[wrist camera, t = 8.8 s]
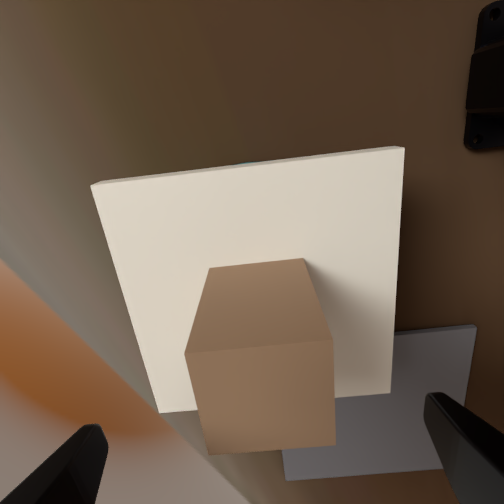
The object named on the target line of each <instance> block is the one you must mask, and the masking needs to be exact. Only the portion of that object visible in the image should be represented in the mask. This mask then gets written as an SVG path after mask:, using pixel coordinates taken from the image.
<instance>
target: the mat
mask: <svg viewBox="0 0 504 504" xmlns="http://www.w3.org/2000/svg"><path fill="white" fill-rule="evenodd" d="M476 331H477V327H476V326H475V325H474V324H471V325H461V326H450V327H440V328H430V329H420V330H410V331H399V332H394V338H393V356H392V373H391V390H390V393H385V394H374V395H362V396H351V397H339V398H335V426H336V445H332V446H320V447H308V448H295V449H283V450H282V455H283V463H284V472H285V480H286V481H292V480H304V479H317V478H330V477H343V476H355V475H368V474H381V473H394V472H406V471H419V470H432V469H444V468H443V466H442V464H441V461H440V459H439V457H438V454H437V452H436V449H435V447H434V445H433V442H432V440H431V437H430V435H429V433H428V430H427V428H426V426H425V423H424V419H423V412H424V402H425V395H426V394H427V393H432V392H443V393H445V394H447V395H448V396H449V397H451V398H452V399H454V400H455V401H457V402H458V403H459V404H461V405H462V406H464V402H465V396H466V390H467V384H468V378H469V373H470V367H471V361H472V355H473V349H474V343H475V337H476Z"/></svg>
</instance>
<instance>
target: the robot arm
mask: <svg viewBox="0 0 504 504" xmlns="http://www.w3.org/2000/svg"><path fill="white" fill-rule="evenodd" d="M491 10H492V11H493V12H494V13H495V17H494V19H493V21H492V20H491V19H490V17H489V14H490V11H491ZM466 110H467V117H466V126H465V134H464V144H465V146H466V147H467V148H471V149H482V148H490V147H498V146H504V0H500V1H495V2H493V3H491V4H489V5H487V6H485V7H484V8H483V9H482V11H481V12H480V14H479V18H478V25H477V33H476V42H475V50H474V53H473V55H472V57H471V65H470V74H469V82H468V91H467V99H466ZM476 135H478V140H477V142H476V143H474V142H473V139H474V137H475V136H476ZM423 419H424V423H425V426H426V428H427V430H428V433H429V435H430V437H431V440H432V442H433V445H434V447H435V449H436V452H437V454H438V457H439V459H440V461H441V464H442V466H443V468H444V471H445V473H446V476H447V478H448V480H449V482H450V485H451V487H452V489H453V491H454V493H455V495H456V497H457V499H458V501H459V502H460V504H504V434H503V433H501V432H500V431H498V430H497V429H496V428H494V427H493V426H491V425H490V424H488V423H487V422H485V421H484V420H483V419H481V418H480V417H478V416H477V415H475V414H474V413H472V412H471V411H470V410H468V409H467V408H465V407H464V406H462V405H461V404H459V403H458V402H457V401H455V400H454V399H452V398H451V397H449V396H448V395H447V394H445V393H443V392H432V393H427V394H426V395H425V402H424V412H423ZM107 454H108V442H107V440H106V437H105V435H104V432H103V430H102V428H101V426H100V425H99V424H87V425H84V426H83V427H81V428H80V429H79V430H78V431H77V432H76V433H74V434H73V435H72V436H71V437H70V438H69V439H68V440H67V441H66V442H65V443H64V444H62V445H61V446H60V447H59V448H58V449H57V450H56V451H55V452H54V453H53V454H52V455H51V456H49V458H47V459H46V460H45V461H44V462H43V463H42V464H41V465H40V466H39V467H38V468H37V469H35V470H34V471H33V472H32V473H31V474H30V475H29V476H28V477H27V478H26V479H25V480H23V481H22V482H21V483H20V484H19V485H18V486H17V487H16V488H15V489H14V490H13V491H12V492H10V493H9V494H8V495H7V496H6V497H5V498H4V499H3V500H2V501H1V502H0V504H95V501H96V497H97V493H98V489H99V485H100V481H101V477H102V474H103V469H104V466H105V462H106V458H107Z"/></svg>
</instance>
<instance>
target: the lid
mask: <svg viewBox="0 0 504 504" xmlns="http://www.w3.org/2000/svg"><path fill="white" fill-rule="evenodd" d="M404 149H405V148H403V147H397V146H389V147H381V148H372V149H364V150H356V151H347V152H339V153H331V154H322V155H314V156H306V157H298V158H289V159H281V160H273V161H264V162H256V163H248V164H239V165H231V166H223V167H214V168H206V169H198V170H190V171H181V172H173V173H165V174H156V175H148V176H140V177H131V178H123V179H115V180H106V181H100V182H98V183H95V184H93V185H90V186H91V190H92V193H93V196H94V199H95V203H96V206H97V209H98V213H99V216H100V219H101V223H102V226H103V229H104V232H105V236H106V239H107V242H108V246H109V249H110V252H111V255H112V259H113V262H114V265H115V269H116V272H117V275H118V278H119V282H120V285H121V288H122V292H123V295H124V298H125V301H126V305H127V308H128V311H129V315H130V318H131V321H132V325H133V328H134V331H135V334H136V338H137V341H138V344H139V348H140V351H141V354H142V357H143V361H144V364H145V367H146V371H147V374H148V377H149V380H150V384H151V387H152V390H153V394H154V397H155V400H156V404H157V407H158V410H159V413H166V412H178V411H189V410H198V413H199V417H200V421H201V426H202V430H203V434H204V438H205V442H206V446H207V450H208V454H209V455H220V454H233V453H245V452H258V451H270V450H283V449H295V448H308V447H320V446H332V445H336V426H335V398H339V397H351V396H362V395H374V394H385V393H390V390H391V373H392V356H393V338H394V321H395V304H396V287H397V270H398V252H399V235H400V218H401V201H402V183H403V166H404Z"/></svg>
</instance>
